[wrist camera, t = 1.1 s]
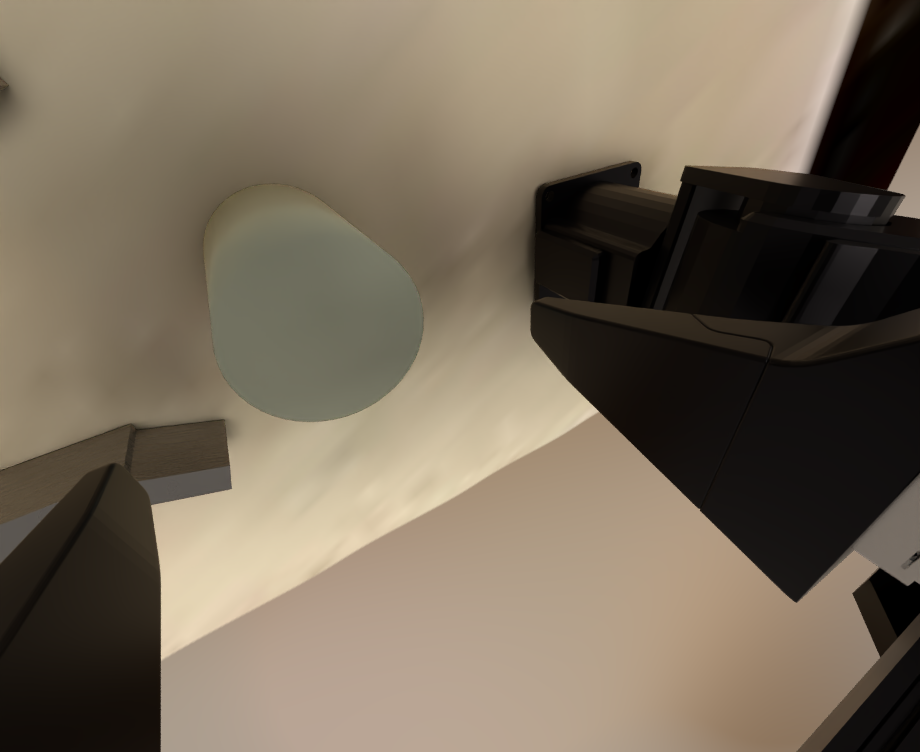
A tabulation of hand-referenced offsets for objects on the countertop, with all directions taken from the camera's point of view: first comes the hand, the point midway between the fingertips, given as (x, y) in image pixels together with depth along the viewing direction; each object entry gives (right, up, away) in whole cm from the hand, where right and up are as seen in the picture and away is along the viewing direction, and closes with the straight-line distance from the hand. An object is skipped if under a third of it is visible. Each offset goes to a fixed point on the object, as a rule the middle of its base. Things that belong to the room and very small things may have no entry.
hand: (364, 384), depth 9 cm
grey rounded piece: (-5, +5, +7) cm, 9 cm away
